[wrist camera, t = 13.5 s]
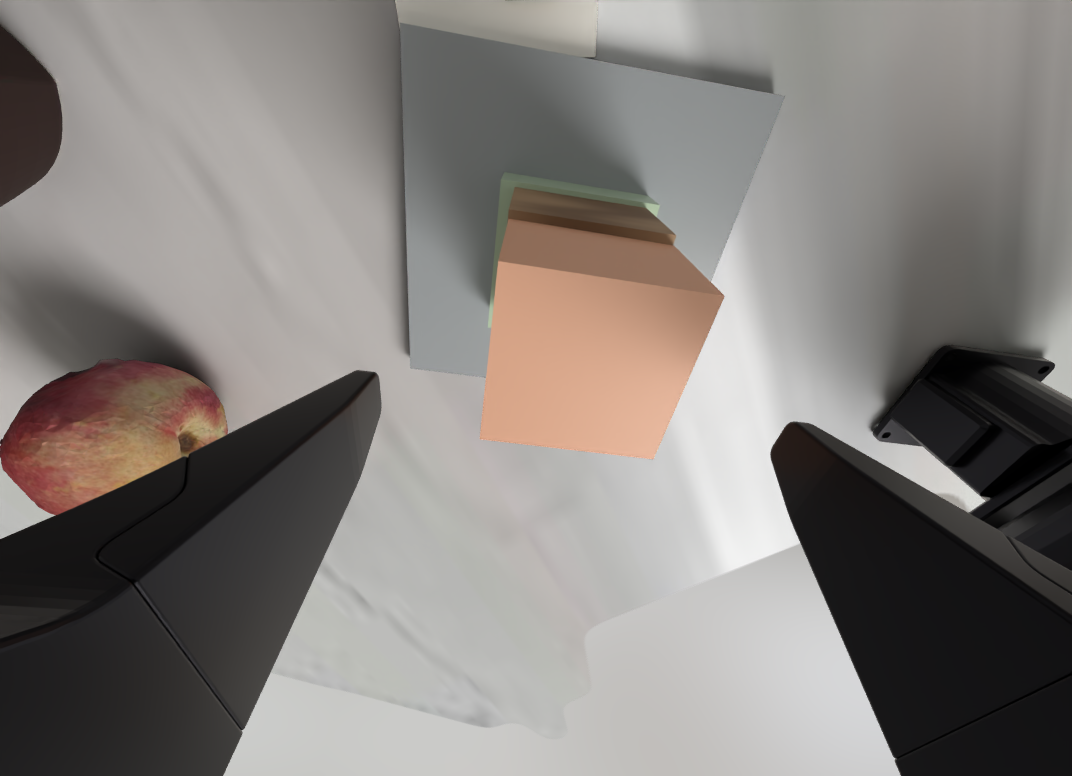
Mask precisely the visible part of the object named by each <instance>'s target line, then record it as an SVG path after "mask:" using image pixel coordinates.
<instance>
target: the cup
mask: <svg viewBox="0 0 1072 776" xmlns="http://www.w3.org/2000/svg"><path fill="white" fill-rule="evenodd" d="M61 139H62V112H61V104H60V99H59V94H58V90H57V85H56V82H55V80H54V79H53V78H52V77H51V76H50V74H49V73H48V72H47V71H46V70H45V69H44V68H43V67H42V66H41V64H40V63H39V62H38V61H37V60H36V59H35V58H34V57H33V56H32V55H31V54H30V53H29V52H28V51H27V50H26V49H25V48H24V47H23V46H22V45H21V44H20V43H19V42H18V41H17V40H16V39H15V38H14V37H13V36H11V35H10V34H9V33H8V32H7V31H6V30H5V29H3V28H2V27H1V26H0V207H1V206H3V205H4V204H6V203H7V202H9V201H10V200H12V199H14V198H15V197H17V196H18V195H20V194H21V193H22V192H24V191H25V190H27V189H28V188H30V187H31V186H33V185H34V184H36V183H37V182H38V181H39V180H41V179H42V178H43V177H44V176H45V175H46V174H47V173H48V171H49V170H50V168H51V167H52V166H53V164H54V162H55V160H56V158H57V156H58V153H59V150H60V145H61Z"/></svg>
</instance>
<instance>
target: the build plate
mask: <svg viewBox="0 0 1072 776" xmlns="http://www.w3.org/2000/svg"><path fill="white" fill-rule="evenodd" d="M400 46H401V79H402V111H403V144H404V176H405V209H406V242H407V274H408V307H409V340H410V368H411V369H419V370H427V371H435V372H444V373H452V374H460V375H468V376H476V377H484V378H486V374H487V364H488V354H489V345H490V335H491V325H492V316H493V306H494V296H495V287H496V277H497V267H498V260H499V256H500V252H501V247H502V243H503V239H504V235H505V231H506V227H507V221H508V211H509V206H510V203H511V199H512V195H513V191H514V188H515V187H519V188H525V189H531V190H537V191H544V192H550V193H556V194H562V195H568V196H575V197H581V198H587V199H593V200H600V201H606V202H612V203H618V204H625V205H631V206H637V207H643V208H647V209H648V210H649V211H650V212H651V213H653V214H654V215H655V216H656V217H657V218H658V219H659V220H660V221H661V222H662V223H664V224H665V225H666V226H667V227H668V228H669V229H670V230H671V231H672V232H674V233H675V234H676V238H675V242H674V246H675V247H676V248H677V249H678V250H679V251H680V252H681V253H682V254H683V255H684V256H685V257H686V258H687V259H688V260H689V261H690V262H691V263H692V264H693V265H694V266H695V267H696V268H697V269H698V270H699V271H700V272H701V273H702V274H703V275H704V276H705V277H706V278H707V279H708V280H709V281H710V282H711V280H712V277H713V275H714V272H715V270H716V267H717V265H718V262H719V260H720V257H721V255H722V252H723V250H724V248H725V245H726V243H727V240H728V238H729V235H730V233H731V230H732V228H733V225H734V223H735V220H736V218H737V215H738V213H739V210H740V208H741V205H742V203H743V200H744V198H745V195H746V193H747V190H748V188H749V185H750V183H751V180H752V178H753V175H754V173H755V170H756V168H757V165H758V163H759V160H760V158H761V155H762V153H763V150H764V148H765V145H766V143H767V140H768V138H769V135H770V133H771V130H772V128H773V125H774V123H775V120H776V118H777V115H778V113H779V110H780V108H781V105H782V103H783V100H784V98H785V96H782V95H777V94H771V93H766V92H761V91H756V90H751V89H745V88H740V87H735V86H730V85H724V84H719V83H714V82H709V81H703V80H698V79H693V78H688V77H682V76H677V75H672V74H667V73H661V72H656V71H651V70H646V69H640V68H635V67H630V66H625V65H619V64H614V63H609V62H604V61H598V60H593V59H588V58H583V57H577V56H572V55H567V54H562V53H557V52H551V51H546V50H541V49H536V48H530V47H525V46H520V45H515V44H509V43H504V42H499V41H494V40H488V39H483V38H478V37H473V36H467V35H462V34H457V33H452V32H446V31H441V30H436V29H431V28H425V27H420V26H415V25H410V24H404V23H400Z"/></svg>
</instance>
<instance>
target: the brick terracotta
mask: <svg viewBox="0 0 1072 776" xmlns="http://www.w3.org/2000/svg"><path fill="white" fill-rule="evenodd" d="M723 299H724V295H723V294H722V293H721V292H720V291H719V290H718V289H717V288H716V287H715V286H714V285H713V284H712V283H711V282H710V281H709V280H708V279H707V278H706V277H705V276H704V275H703V274H702V273H701V272H700V271H699V270H698V269H697V268H696V267H695V266H694V265H693V264H692V263H691V262H690V261H689V260H688V259H687V258H686V257H685V256H684V255H683V254H682V253H681V252H680V251H679V250H678V249H677V248H676V247H675V246H674V245H668V244H662V243H656V242H650V241H643V240H637V239H631V238H625V237H619V236H613V235H607V234H601V233H595V232H589V231H582V230H576V229H570V228H564V227H558V226H552V225H546V224H540V223H534V222H527V221H521V220H515V219H508V223H507V227H506V231H505V235H504V239H503V243H502V247H501V252H500V256H499V260H498V267H497V277H496V287H495V296H494V306H493V316H492V325H491V335H490V345H489V354H488V364H487V374H486V384H485V393H484V403H483V413H482V422H481V432H480V439H483V440H491V441H500V442H509V443H517V444H526V445H535V446H543V447H552V448H560V449H569V450H578V451H586V452H595V453H603V454H612V455H621V456H629V457H638V458H647V459H654V457H655V454H656V452H657V450H658V447H659V445H660V443H661V441H662V438H663V436H664V434H665V431H666V429H667V427H668V424H669V422H670V420H671V418H672V415H673V413H674V411H675V408H676V406H677V404H678V402H679V399H680V397H681V395H682V392H683V390H684V388H685V386H686V383H687V381H688V379H689V376H690V374H691V372H692V370H693V367H694V365H695V363H696V360H697V358H698V356H699V354H700V351H701V349H702V347H703V344H704V342H705V340H706V338H707V335H708V333H709V331H710V328H711V326H712V324H713V322H714V319H715V317H716V315H717V312H718V310H719V308H720V306H721V303H722V301H723Z"/></svg>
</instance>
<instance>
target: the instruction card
mask: <svg viewBox="0 0 1072 776" xmlns="http://www.w3.org/2000/svg"><path fill="white" fill-rule="evenodd" d="M395 3H396V10H397V16H398V22H399V28H400V23H404V24H410V25H415V26H420V27H425V28H431V29H436V30H441V31H446V32H452V33H457V34H462V35H467V36H473V37H478V38H483V39H488V40H494V41H499V42H504V43H509V44H515V45H520V46H525V47H530V48H536V49H541V50H546V51H551V52H557V53H562V54H567V55H572V56H577V57H583V58H589V57H596V35H597V11H598V0H395Z"/></svg>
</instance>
